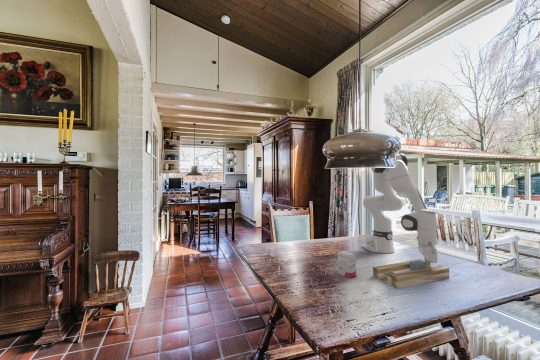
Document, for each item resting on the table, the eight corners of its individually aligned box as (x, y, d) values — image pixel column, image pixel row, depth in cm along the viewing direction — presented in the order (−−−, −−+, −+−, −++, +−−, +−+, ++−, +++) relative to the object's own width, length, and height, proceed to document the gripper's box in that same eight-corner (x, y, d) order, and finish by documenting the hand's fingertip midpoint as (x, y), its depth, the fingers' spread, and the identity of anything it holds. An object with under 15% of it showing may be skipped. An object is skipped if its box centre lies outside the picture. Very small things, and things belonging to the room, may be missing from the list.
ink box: (356, 276, 133) (356, 254, 133) (350, 278, 130) (350, 255, 130) (343, 271, 140) (343, 250, 140) (337, 273, 138) (337, 252, 138)
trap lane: (373, 276, 133) (372, 267, 133) (420, 267, 144) (420, 258, 144) (398, 288, 117) (397, 277, 117) (449, 277, 129) (449, 267, 129)
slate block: (410, 269, 134) (409, 261, 134) (417, 267, 136) (416, 260, 136) (418, 272, 129) (418, 264, 129) (425, 270, 131) (425, 263, 131)
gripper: (440, 245, 124) (441, 273, 124) (428, 236, 144) (428, 260, 144) (426, 244, 126) (426, 272, 126) (415, 235, 146) (416, 259, 146)
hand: (427, 265), depth 135 cm, fingers closed
